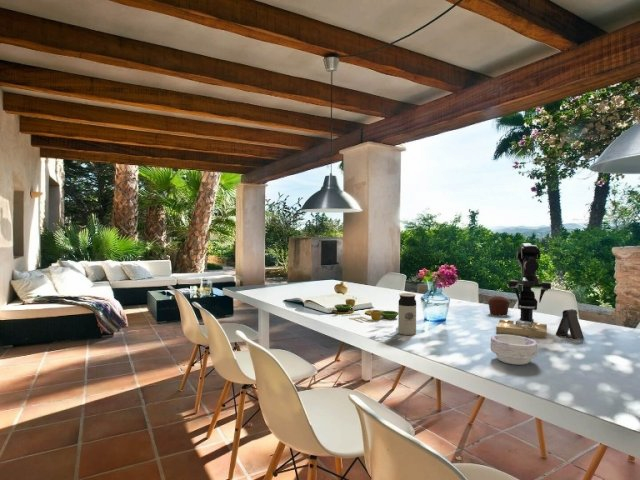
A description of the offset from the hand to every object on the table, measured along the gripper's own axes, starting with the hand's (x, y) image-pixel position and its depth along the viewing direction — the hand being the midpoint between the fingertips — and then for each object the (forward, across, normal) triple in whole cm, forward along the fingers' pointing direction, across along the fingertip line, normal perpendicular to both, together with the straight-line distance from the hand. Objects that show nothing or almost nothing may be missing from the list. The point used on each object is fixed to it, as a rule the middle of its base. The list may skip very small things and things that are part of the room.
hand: (529, 301), depth 203 cm
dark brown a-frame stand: (+12, +17, -14) cm, 25 cm away
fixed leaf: (+12, -2, -17) cm, 21 cm away
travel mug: (+12, -47, -46) cm, 67 cm away
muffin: (+12, -17, +24) cm, 32 cm away
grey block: (+12, -2, -8) cm, 15 cm away
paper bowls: (+12, -1, -65) cm, 66 cm away
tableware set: (+13, -84, -16) cm, 86 cm away
